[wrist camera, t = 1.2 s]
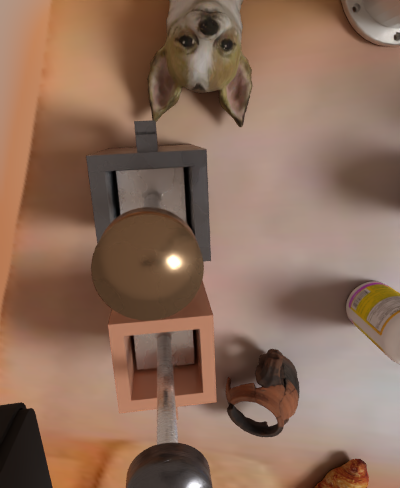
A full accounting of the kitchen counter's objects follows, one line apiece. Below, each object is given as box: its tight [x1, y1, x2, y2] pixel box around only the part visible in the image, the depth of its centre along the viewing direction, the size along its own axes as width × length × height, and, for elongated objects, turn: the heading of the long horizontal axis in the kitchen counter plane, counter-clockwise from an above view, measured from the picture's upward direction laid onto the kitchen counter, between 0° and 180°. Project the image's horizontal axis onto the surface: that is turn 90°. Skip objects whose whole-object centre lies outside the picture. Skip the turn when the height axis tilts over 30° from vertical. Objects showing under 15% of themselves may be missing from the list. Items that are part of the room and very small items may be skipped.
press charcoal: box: [86, 120, 211, 261], centre depth 36 cm, size 11×9×14 cm
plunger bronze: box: [91, 167, 204, 321], centre depth 26 cm, size 6×6×18 cm
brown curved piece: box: [226, 349, 299, 437], centre depth 50 cm, size 12×10×8 cm
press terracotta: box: [108, 281, 217, 420], centre depth 41 cm, size 11×9×14 cm
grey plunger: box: [126, 330, 212, 488], centre depth 30 cm, size 6×6×18 cm
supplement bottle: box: [346, 281, 400, 364], centre depth 45 cm, size 7×7×13 cm
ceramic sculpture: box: [147, 0, 252, 127], centre depth 36 cm, size 11×9×15 cm
